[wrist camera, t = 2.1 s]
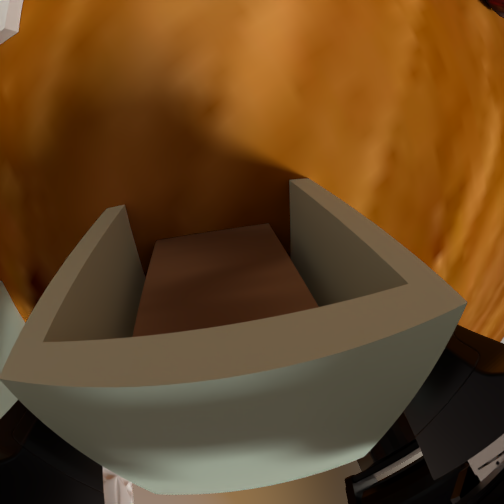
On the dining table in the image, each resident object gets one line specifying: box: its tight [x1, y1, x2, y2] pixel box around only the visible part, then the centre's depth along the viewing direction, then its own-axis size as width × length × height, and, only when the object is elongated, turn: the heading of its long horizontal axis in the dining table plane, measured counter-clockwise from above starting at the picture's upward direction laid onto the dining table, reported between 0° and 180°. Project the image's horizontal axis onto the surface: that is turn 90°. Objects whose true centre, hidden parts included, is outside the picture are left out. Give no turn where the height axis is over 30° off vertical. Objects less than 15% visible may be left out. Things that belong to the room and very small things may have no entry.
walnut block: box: [132, 223, 319, 337], centre depth 8 cm, size 4×4×5 cm
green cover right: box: [0, 178, 467, 495], centre depth 7 cm, size 7×7×7 cm
